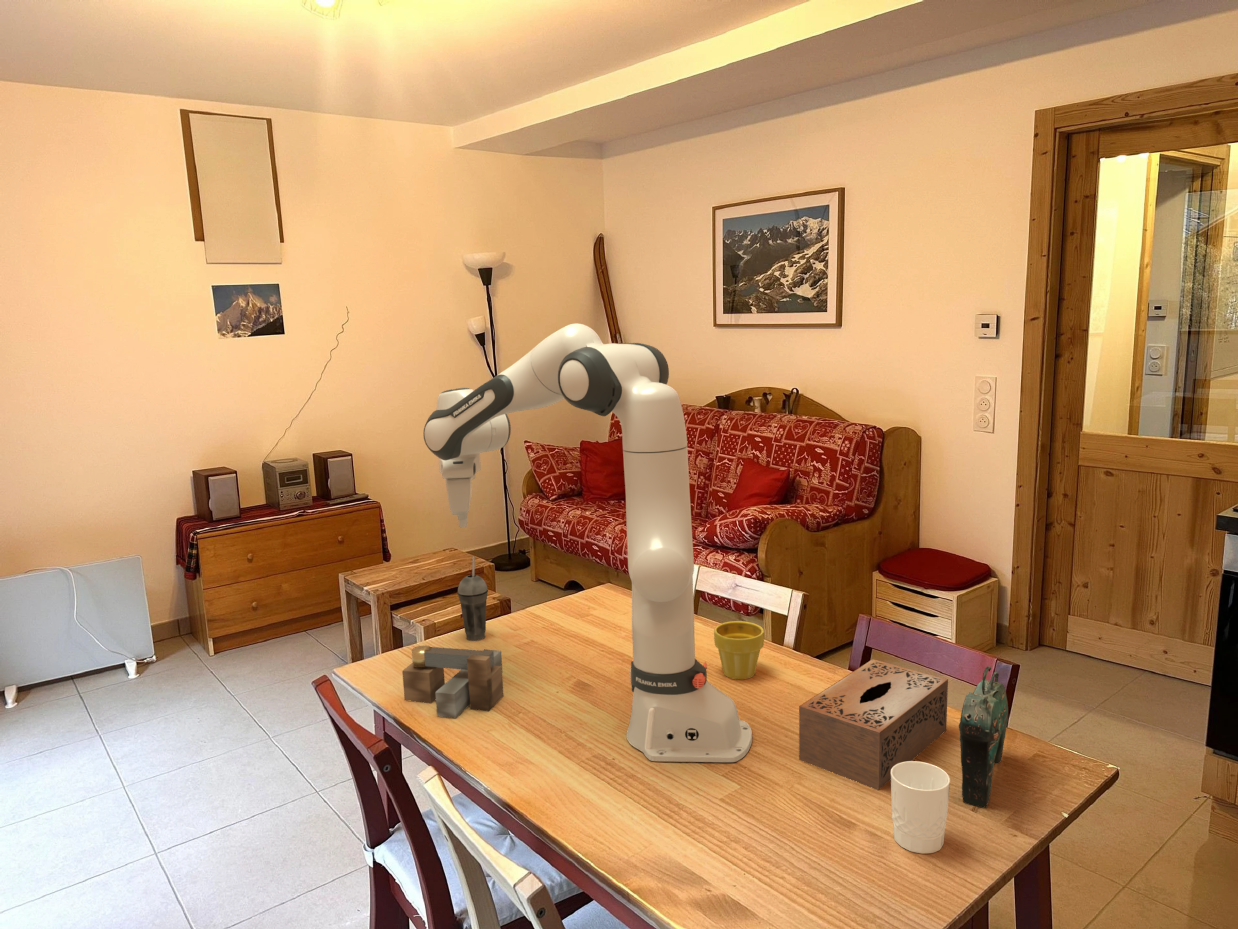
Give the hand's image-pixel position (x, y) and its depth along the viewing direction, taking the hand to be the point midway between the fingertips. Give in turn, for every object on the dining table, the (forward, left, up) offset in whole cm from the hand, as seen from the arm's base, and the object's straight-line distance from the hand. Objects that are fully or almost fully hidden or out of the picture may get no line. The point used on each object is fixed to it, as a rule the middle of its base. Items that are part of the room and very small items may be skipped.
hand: (463, 525), depth 185 cm
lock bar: (-5, +18, -24) cm, 30 cm away
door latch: (-5, +15, -31) cm, 35 cm away
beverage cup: (+6, -14, -32) cm, 35 cm away
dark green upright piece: (-103, +27, -32) cm, 111 cm away
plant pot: (-59, -6, -32) cm, 67 cm away
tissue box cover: (-86, +19, -32) cm, 94 cm away
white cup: (-92, +46, -32) cm, 108 cm away
